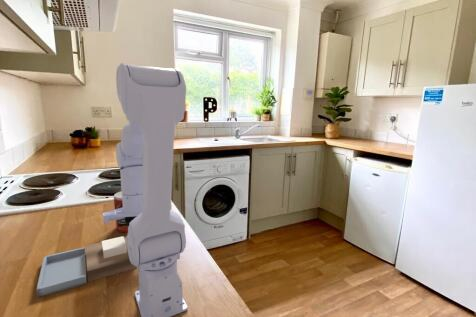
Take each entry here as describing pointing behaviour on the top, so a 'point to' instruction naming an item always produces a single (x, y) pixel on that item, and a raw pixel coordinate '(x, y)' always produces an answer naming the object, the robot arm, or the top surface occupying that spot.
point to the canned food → (118, 204)
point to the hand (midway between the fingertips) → (137, 242)
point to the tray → (62, 271)
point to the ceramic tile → (114, 247)
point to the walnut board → (105, 262)
